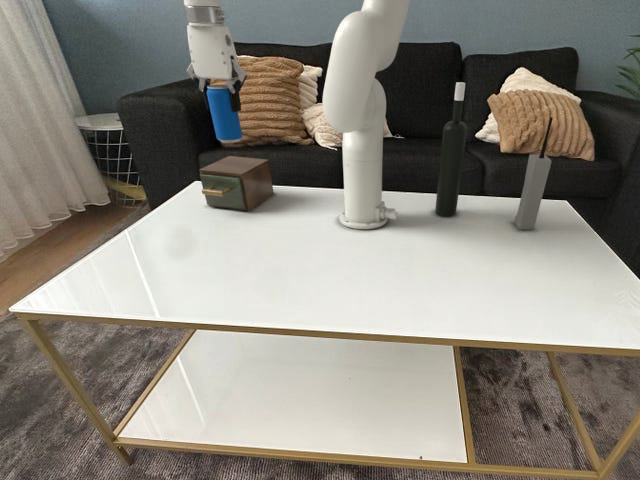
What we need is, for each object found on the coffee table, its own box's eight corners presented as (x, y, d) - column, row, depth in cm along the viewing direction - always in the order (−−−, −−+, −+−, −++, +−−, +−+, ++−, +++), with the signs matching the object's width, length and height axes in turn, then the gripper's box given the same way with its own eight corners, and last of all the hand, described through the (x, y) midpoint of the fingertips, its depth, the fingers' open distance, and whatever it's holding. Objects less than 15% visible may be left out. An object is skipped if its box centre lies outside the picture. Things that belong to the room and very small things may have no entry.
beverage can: (246, 138, 109) (236, 84, 101) (237, 144, 104) (226, 88, 96) (223, 137, 109) (211, 84, 102) (213, 143, 104) (200, 87, 97)
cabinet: (249, 211, 110) (241, 174, 104) (208, 206, 113) (199, 169, 107) (274, 194, 121) (268, 159, 115) (236, 189, 124) (229, 155, 117)
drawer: (236, 214, 106) (229, 183, 101) (197, 209, 108) (189, 179, 103) (268, 193, 119) (263, 165, 114) (233, 189, 121) (227, 161, 116)
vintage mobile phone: (527, 222, 108) (554, 114, 91) (533, 230, 104) (563, 118, 88) (513, 222, 108) (538, 114, 91) (519, 230, 104) (546, 118, 88)
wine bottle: (459, 212, 113) (477, 82, 93) (450, 218, 109) (467, 84, 89) (440, 208, 115) (454, 80, 95) (431, 214, 111) (444, 82, 92)
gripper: (248, 18, 92) (262, 110, 103) (182, 16, 95) (202, 105, 107) (230, 18, 86) (247, 115, 98) (160, 16, 90) (185, 110, 101)
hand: (224, 109), depth 102 cm, fingers closed on beverage can, 6 cm apart
